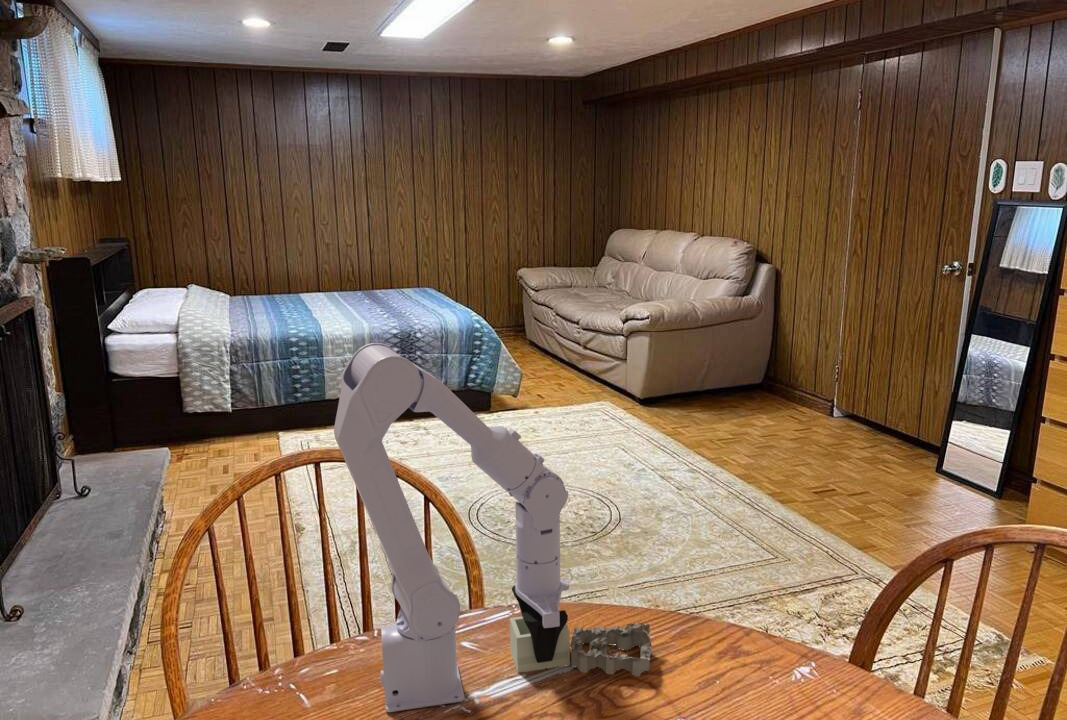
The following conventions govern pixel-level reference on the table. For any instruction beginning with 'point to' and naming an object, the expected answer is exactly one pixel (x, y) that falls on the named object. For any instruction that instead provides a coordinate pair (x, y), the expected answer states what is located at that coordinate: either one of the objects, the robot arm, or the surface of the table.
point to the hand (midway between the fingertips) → (539, 648)
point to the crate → (524, 648)
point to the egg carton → (606, 636)
